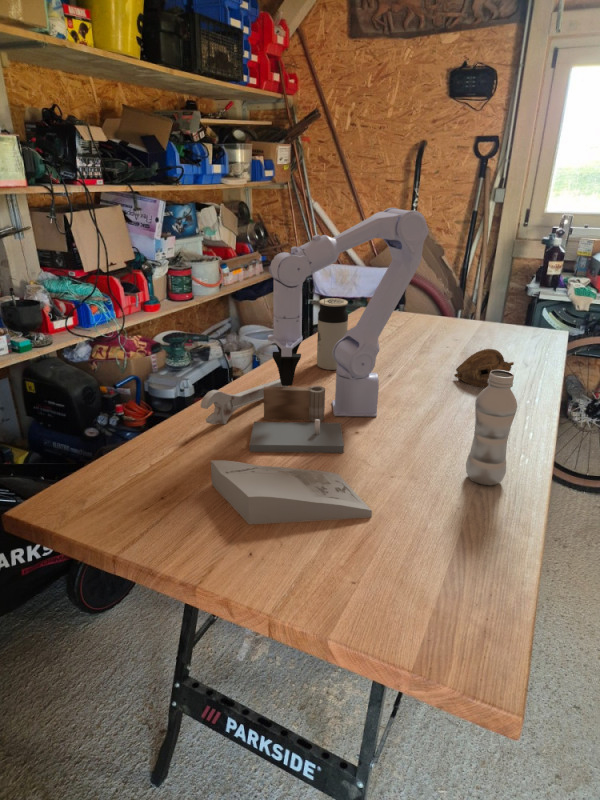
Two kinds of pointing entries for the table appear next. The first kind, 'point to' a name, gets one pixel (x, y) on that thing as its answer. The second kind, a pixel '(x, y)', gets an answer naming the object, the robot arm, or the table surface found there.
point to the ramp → (285, 493)
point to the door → (294, 403)
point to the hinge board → (297, 437)
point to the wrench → (232, 401)
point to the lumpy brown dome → (481, 367)
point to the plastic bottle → (492, 429)
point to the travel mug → (330, 330)
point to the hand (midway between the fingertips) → (287, 378)
